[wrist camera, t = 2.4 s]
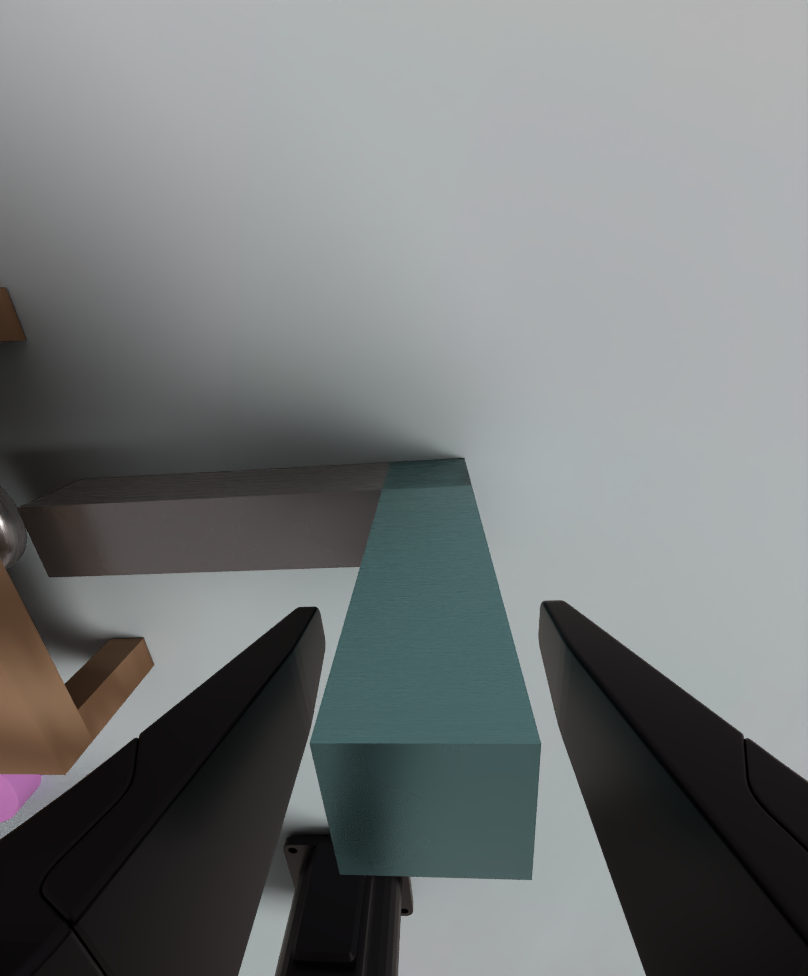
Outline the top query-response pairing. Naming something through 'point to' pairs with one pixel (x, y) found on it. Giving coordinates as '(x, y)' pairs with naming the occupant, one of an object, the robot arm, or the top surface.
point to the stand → (53, 673)
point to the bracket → (15, 792)
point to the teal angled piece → (357, 641)
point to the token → (10, 531)
